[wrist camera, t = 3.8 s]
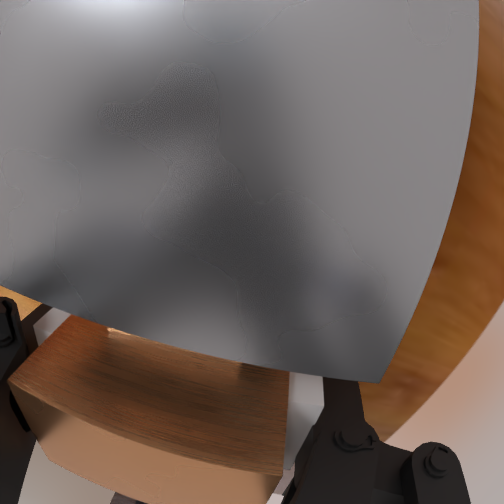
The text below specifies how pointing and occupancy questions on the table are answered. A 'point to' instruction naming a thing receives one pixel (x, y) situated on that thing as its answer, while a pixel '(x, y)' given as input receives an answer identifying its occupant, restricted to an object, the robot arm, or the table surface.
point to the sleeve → (235, 168)
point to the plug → (154, 416)
